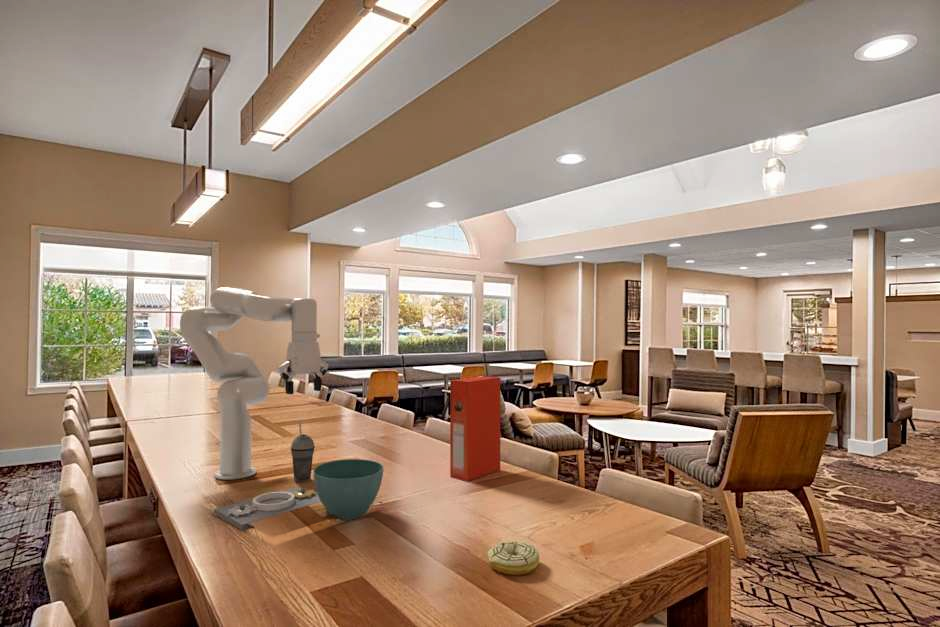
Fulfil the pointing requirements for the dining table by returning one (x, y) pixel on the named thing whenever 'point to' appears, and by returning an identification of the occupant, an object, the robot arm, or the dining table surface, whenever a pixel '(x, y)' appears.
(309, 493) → the gear
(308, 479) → the beverage cup
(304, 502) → the gear board
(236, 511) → the gear
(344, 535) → the dining table surface
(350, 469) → the plant pot
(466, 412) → the file binder
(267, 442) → the dining table surface
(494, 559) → the decorated donut
